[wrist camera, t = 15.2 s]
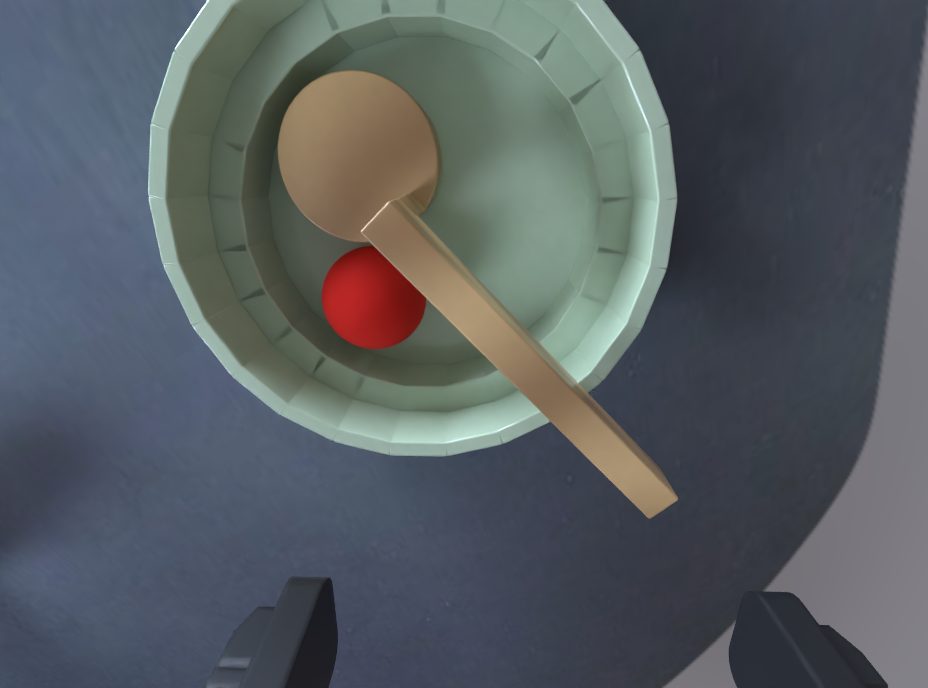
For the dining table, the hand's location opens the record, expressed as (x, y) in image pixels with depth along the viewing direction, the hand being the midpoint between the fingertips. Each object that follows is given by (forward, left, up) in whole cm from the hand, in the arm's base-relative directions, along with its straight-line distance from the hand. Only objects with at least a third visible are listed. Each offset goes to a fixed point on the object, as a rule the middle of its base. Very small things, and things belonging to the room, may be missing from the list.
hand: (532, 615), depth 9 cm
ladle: (-1, -4, -13) cm, 14 cm away
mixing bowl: (0, -7, -14) cm, 15 cm away
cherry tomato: (+3, -6, -11) cm, 13 cm away
